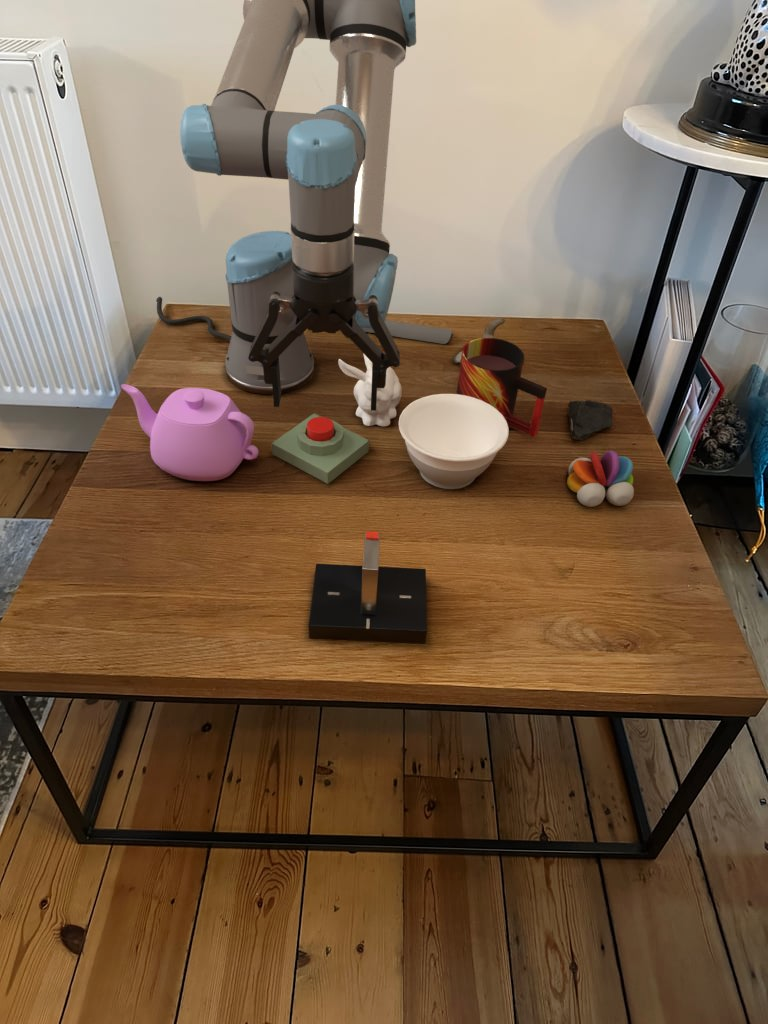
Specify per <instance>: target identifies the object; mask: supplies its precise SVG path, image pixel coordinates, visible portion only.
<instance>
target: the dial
mask: <svg viewBox="0 0 768 1024" xmlns="http://www.w3.org/2000/svg"><path fill="white" fill-rule="evenodd" d="M363 541H364V543H363V553H362V555H363V556H362V566H363V567H362V594H361V614H370V615H376V602H377V585H378V567H380V548H381V547H380V546H381V544H380V543H381V532H379V531H365V532H364V540H363Z"/></svg>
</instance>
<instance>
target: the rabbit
mask: <svg viewBox="0 0 768 1024" xmlns="http://www.w3.org/2000/svg"><path fill="white" fill-rule="evenodd" d="M362 355H363V359H364V364H365V367H366V371H363V370H361V369H359V368H357V367H355V366H353V365H350V364H347V363H346V362H345V361H343V360H342V359H341V358H339V359H338V361H337V362H338V366H339V369H340V370H341V372H343V374H345V375H346V376H348V377H351V378H354V379H357V380H358V381H357V382H356V383H355V385H354V386H353V396H354V399H355V400H356V402H357V405H358V407H357V408H356V411H355V416H356V417H358V418H360V419H362V424H363V425H364V426H367V427H372V426H375V425H377V426H378V427H388V426H390V425H391V420H392V419H394V418H397V409H396V407H397V406H398V405H399V404H400V401H401V397H402V385H401V382H400V380H399V377H398V375H397V374H396V371H394V369H393V367H392V366H391V367H389V368H387V370H386V385H385V387H384V388H377V402H376V410H371V390H372V362H371V361H370V360H369V359H368V358H367V357H366V355H365V354H364V353H363V352H362Z"/></svg>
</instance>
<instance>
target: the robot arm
mask: <svg viewBox="0 0 768 1024" xmlns="http://www.w3.org/2000/svg"><path fill="white" fill-rule="evenodd" d="M242 15H243V20H244V21H243V23H242V26H241V29H240V31H239V34H238V36H237V39H236V42H235V45H234V47H233V48H232V52H231V54H230V57H229V60H228V62H227V64H226V67H225V70H224V72H223V75H222V78H221V79H220V83H219V85H218V88H217V90H216V93H215V96H214V98H213V100H212V102H211V104H210V105H207V103H202V104H192V105H189V106H186V107H185V109H184V111H183V113H182V116H181V120H180V131H179V132H180V133H179V134H180V145H181V146H180V147H181V151H182V155H183V158H184V161H185V163H186V165H187V166H188V167H189V168H190V169H191V170H192V171H194V172H198V173H205V174H206V173H207V174H215V175H217V176H219V177H220V176H232V177H233V176H234V177H235V176H236V177H248V178H249V177H251V178H252V177H253V178H266V179H273V180H274V179H277V180H288V194H289V195H288V196H289V211H290V232H288V231H284V230H265V231H259V232H254V233H252V234H248V235H245V236H243V237H241V238H239V239H238V240H236V241H235V242H233V243H232V244H231V245H230V247H229V248H228V249H227V251H226V254H225V268H226V269H225V270H226V272H225V280H226V285H227V292H228V293H227V294H228V301H229V302H228V303H229V310H230V311H229V312H230V320H231V330H232V331H231V335H230V334H226V333H223V332H219V331H217V330H215V329H214V328H213V327H214V321H213V319H212V318H210V317H209V316H205V315H194V316H188V317H184V318H178V319H172V318H168V317H166V316H165V315H164V313H163V297H161V296H158V297H157V298H156V299H155V302H156V313H157V316H158V318H159V319H160V320H161V321H162V322H163V323H165V324H168V325H183V324H188V323H191V322H198V321H199V322H206V323H207V331H208V333H209V334H210V335H212V336H213V337H216V338H220V339H224V340H227V341H228V342H229V345H228V351H227V353H226V356H225V362H224V367H225V375H226V377H227V379H228V380H229V382H230V383H231V384H232V385H233V386H235V387H236V388H238V389H239V390H240V389H241V390H243V391H244V392H245V391H246V392H248V393H253V394H259V395H272V399H273V407H274V408H279V407H280V404H281V399H282V394H284V393H289V392H292V391H295V390H297V389H299V388H301V387H303V386H305V385H306V384H308V383H309V381H310V380H311V379H312V378H313V376H314V373H315V359H314V355H313V353H312V349H310V347H309V346H310V345H309V342H308V339H307V337H306V335H305V332H306V331H307V330H308V331H311V333H313V334H315V333H316V334H320V333H327V334H337V333H338V332H341V333H342V334H343V335H344V337H345V338H346V339H349V340H350V341H351V342H352V343H353V344H354V345H355V346H356V347H357V348H358V349H359V351H361V352H362V354H363V353H364V354H365V355H366V357H367V358H368V359H369V360H370V361H371V362H372V390H371V410H376V402H377V388H384V387H385V385H386V370H387V368H389V367H391V368H398V367H400V366H401V352H400V350H399V348H398V346H397V344H396V342H395V339H394V338H393V336H391V334H390V332H389V330H388V328H387V326H386V324H385V322H384V321H385V320H387V316H388V313H389V310H390V309H389V308H390V305H391V301H392V296H393V292H394V287H395V282H396V276H397V275H396V274H397V269H398V261H399V260H398V256H397V255H395V254H394V253H390V249H391V242H390V241H389V239H388V238H387V237H386V236H385V235H384V233H383V229H382V228H383V217H384V207H385V206H384V205H385V193H386V192H385V191H386V179H387V169H388V168H387V167H388V156H389V155H388V154H389V144H390V143H389V142H390V128H391V117H392V104H393V92H394V77H395V70H396V68H397V67H398V66H400V65H401V64H402V63H403V62H404V61H405V59H406V56H407V55H406V54H407V48H411V47H414V46H416V44H417V20H416V18H417V17H416V16H417V15H416V0H243V5H242ZM305 39H318V40H323V41H324V40H325V41H329V46H328V47H329V52H330V54H331V55H332V57H333V58H334V59H335V60H336V62H337V78H336V90H335V91H336V92H335V104H331V105H328V106H325V107H323V108H322V109H320V110H318V111H317V112H315V113H311V112H310V113H309V112H296V111H281V110H276V106H277V105H278V100H279V99H280V94H281V92H282V88H283V85H284V82H285V80H286V76H287V73H288V70H289V66H290V64H291V60H292V58H293V54H294V51H295V48H297V47H299V46H300V45H301V44H302V42H303V41H304V40H305ZM362 328H368V329H373V331H374V333H373V334H374V335H375V336H376V338H377V340H378V342H379V344H380V346H381V348H380V347H379V345H378V344H376V342H375V341H374V340H373V339H372V338H371V337H370V336H369V334H368V333H367V332H365V331H364V330H363V329H362Z"/></svg>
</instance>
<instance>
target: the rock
mask: <svg viewBox="0 0 768 1024" xmlns="http://www.w3.org/2000/svg"><path fill="white" fill-rule="evenodd" d="M567 416H568V423H569V428H570V436H571V439H572V440H575V441H578V440H581V441H583V440H586V439H588V437H591V436H592V435H594V434H596V433H597V432H600V431H603V430H606V429H609V428H612V427H613V419H614V417H613V407H612V406H611V405H608V404H607V403H604V402H600V401H595V400H591V399H586V400H569V402H568V410H567Z"/></svg>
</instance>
